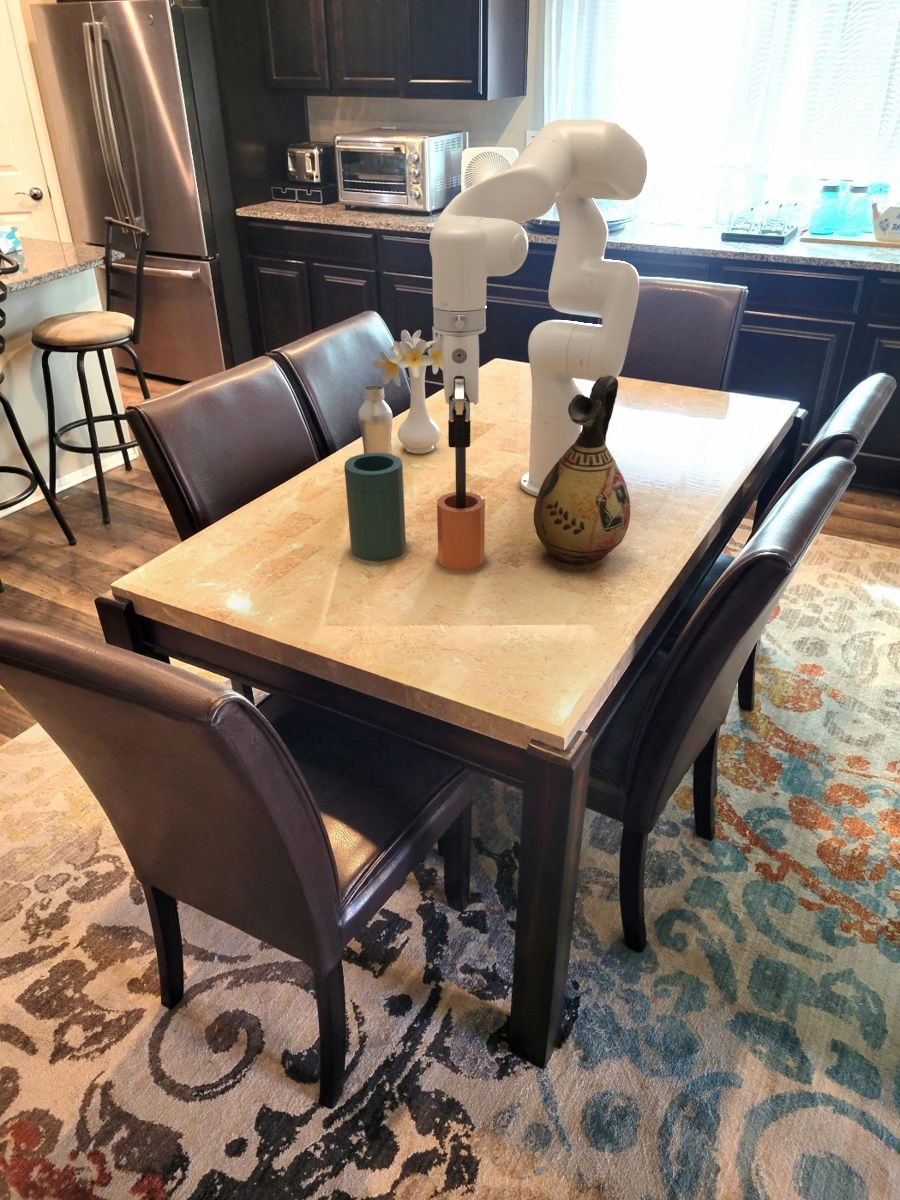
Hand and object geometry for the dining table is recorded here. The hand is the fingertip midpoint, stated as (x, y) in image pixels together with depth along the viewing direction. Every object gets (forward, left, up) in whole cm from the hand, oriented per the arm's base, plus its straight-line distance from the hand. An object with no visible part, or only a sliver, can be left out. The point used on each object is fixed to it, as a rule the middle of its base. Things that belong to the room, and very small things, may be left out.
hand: (459, 435), depth 129 cm
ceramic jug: (-20, -2, -22) cm, 30 cm away
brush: (0, 0, -22) cm, 22 cm away
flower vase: (+9, -51, -22) cm, 57 cm away
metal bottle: (+16, -31, -22) cm, 42 cm away
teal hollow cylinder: (+14, -4, -22) cm, 26 cm away
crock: (0, 0, -22) cm, 22 cm away
